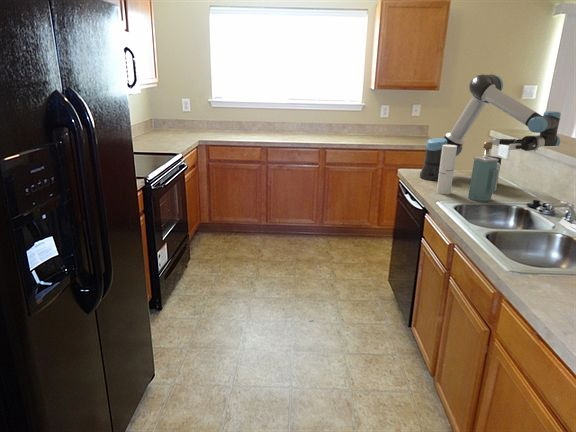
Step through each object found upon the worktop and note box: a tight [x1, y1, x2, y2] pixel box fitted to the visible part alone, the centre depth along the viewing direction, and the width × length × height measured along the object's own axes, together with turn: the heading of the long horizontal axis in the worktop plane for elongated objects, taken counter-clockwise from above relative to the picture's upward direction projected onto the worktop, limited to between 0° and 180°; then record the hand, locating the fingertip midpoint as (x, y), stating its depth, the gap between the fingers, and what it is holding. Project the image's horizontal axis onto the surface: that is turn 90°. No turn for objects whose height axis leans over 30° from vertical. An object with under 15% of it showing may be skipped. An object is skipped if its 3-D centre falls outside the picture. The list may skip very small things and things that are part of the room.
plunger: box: [483, 141, 493, 159], centre depth 217 cm, size 7×7×25 cm
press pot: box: [467, 156, 499, 203], centre depth 217 cm, size 13×11×21 cm
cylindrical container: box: [436, 145, 457, 195], centre depth 229 cm, size 7×7×25 cm
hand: (498, 144), depth 215 cm, fingers open, 13 cm apart
